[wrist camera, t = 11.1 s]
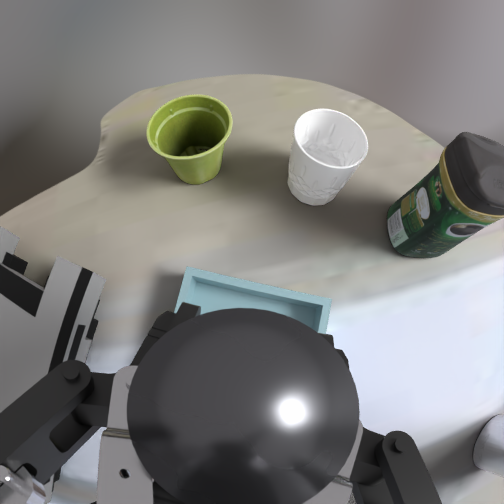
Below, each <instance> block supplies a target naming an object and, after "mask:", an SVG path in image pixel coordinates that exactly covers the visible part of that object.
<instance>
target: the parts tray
mask: <svg viewBox="0 0 504 504" xmlns="http://www.w3.org/2000/svg"><path fill="white" fill-rule="evenodd" d="M182 302H186V303H189V304H193V305H197V306H201V314H204V313H207V312H212V311H216V310H221V309H230V308H255V309H262V310H268V311H273V312H276V313H280V314H283V315H286V316H288V317H291V318H293V319H296V320H298V321H300V322H302V323H303V324H305V325H307V326H309V327H310V328H312V329H313V330H315V331H316V332H318V333H323V334H326V329H327V324H328V318H329V313H330V307H331V302H332V299H329V298H324V297H320V296H315V295H310V294H306V293H301V292H296V291H292V290H287V289H282V288H278V287H273V286H269V285H264V284H260V283H256V282H251V281H247V280H242V279H238V278H234V277H229V276H225V275H221V274H217V273H212V272H208V271H204V270H200V269H196V268H191V267H186V271H185V274H184V278H183V281H182V285H181V289H180V293H179V296H178V300H177V304H176V308H175V312H174V313H177V311H178V309H179V307H180V305H181V303H182Z"/></svg>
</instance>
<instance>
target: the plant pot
mask: <svg viewBox="0 0 504 504" xmlns="http://www.w3.org/2000/svg"><path fill="white" fill-rule="evenodd" d="M231 130H232V116H231V113H230V111H229V109H228V108H227V106H226V105H225V104H224V103H222V102H221V101H220V100H218V99H216V98H213V97H210V96H207V95H187V96H182V97H178V98H176V99H173V100H171V101H169V102H167V103H166V104H164V105H163V106H162V107H160V108H159V109H158V110H157V111H156V112H155V113H154V114H153V116H152V117H151V119H150V121H149V123H148V126H147V131H146V135H147V140H148V143H149V145H150V146H151V148H152V149H153V150H154V151H155V152H156V153H157V154H159V155H160V156H162V157H164V158H165V159H166V160H167V161H168V163H169V164H170V166H171V167H172V169H173V170H174V171H175V173H176V174H177V176H178V177H179V178H180V179H181V180H182V181H184V182H186V183H189V184H202V183H204V182H206V181H209V180H211V179H213V178H214V177H215V176H216V175H217V174H218V172H219V170H220V168H221V163H222V155H223V149H224V143H225V142H226V140H227V139H228V137H229V135H230V133H231ZM199 149H206V150H208V151H206V152H205V151H201V150H199Z"/></svg>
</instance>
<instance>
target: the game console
mask: <svg viewBox="0 0 504 504" xmlns="http://www.w3.org/2000/svg"><path fill="white" fill-rule="evenodd" d="M19 239H20V237H18V236H16V235H15V234H13V233H11V232H10V231H8V230H6V229H5V228H3V227H1V226H0V413H1V412H2V411H3V410H4V409H6V408H7V407H8V406H9V405H10V404H11V403H13V402H14V401H15V400H16V399H17V398H19V397H20V396H21V395H22V394H24V393H25V392H26V391H27V390H28V389H30V388H31V387H32V386H33V385H34V384H36V383H37V382H38V381H39V380H41V379H42V378H43V377H44V376H46V375H47V374H48V373H49V372H50V371H52V370H53V369H54V368H55V367H57V366H58V365H59V364H61V363H62V362H64V361H67V360H78V361H81V362H83V363H85V362H86V358H87V355H88V352H89V349H90V345H91V342H92V339H93V336H94V333H95V330H96V327H97V324H98V320H96V319H94V315H95V313H96V310H97V307H98V304H99V301H100V300H99V297H100V295H101V292H102V289H103V287H104V284H105V281H106V279H105V278H103V277H101V276H99V275H98V274H96V273H94V272H92V271H89V270H87V269H85V268H83V267H81V266H79V265H76V264H74V263H72V262H70V261H68V260H66V259H64V258H62V257H59V256H57V258H56V261H55V263H54V266H53V268H52V271H51V273H50V276H48V278H47V281H46V284H45V287H44V288H43V287H42V286H40V285H38V284H37V283H35V282H33V281H31V280H30V279H28V278H27V277H25V276H23V274H24V272H25V269H26V266H27V264H28V263H27V262H26V261H24V260H22V259H21V258H19V257H17V256H15V255H14V251H15V248H16V246H17V244H18V241H19ZM60 471H61V467H60V468H59V469H58V470H57V471H56V472H55V473H54V474H53V475H52V476H51V477H50V478H49V479H48V480H47V481H46V482H45V483H44V484H43V487H44V489H45V493H46V498H45V502H44V504H47V503H48V502H50V501H51V494H52V492H53V487H54V482H55V481H57V480H59V478H60Z"/></svg>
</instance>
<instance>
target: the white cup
mask: <svg viewBox="0 0 504 504" xmlns="http://www.w3.org/2000/svg"><path fill="white" fill-rule="evenodd" d="M367 151H368V141H367V138H366V135H365V133H364V131H363V130H362V128H361V127H360V126H359V125H358V124H357V123H356V122H355V121H354V120H353V119H352V118H350V117H349V116H347V115H345V114H343V113H341V112H338V111H335V110H331V109H314V110H311V111H308V112H306V113H304V114H303V115H301V116H300V117H299V118H298V120H297V121H296V123H295V126H294V132H293V139H292V145H291V151H290V158H289V166H288V168H289V171H288V182H287V184H288V186H289V188H290V191H291V193H292V194H293V195H294V196H295V197H296V198H297V199H298V200H299V201H301V202H303V203H306V204H309V205H312V206H316V205H325V204H326V203H328V202H330V201H332V200H333V199H334V198H335V196H336V195H337V193H338V192H339V191H340V190H341V189H342V188H343V187H344V185H345V184H346V183H347V181H348V180H349V179H350V178H351V176H352V175H353V173H354V172H355V171H356V169H357V168H358V166H359V165H360V164H361V162H362V161H363V159H364V158H365V156H366V154H367Z"/></svg>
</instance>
